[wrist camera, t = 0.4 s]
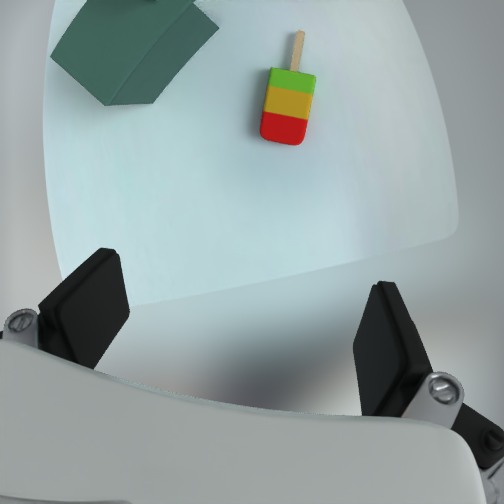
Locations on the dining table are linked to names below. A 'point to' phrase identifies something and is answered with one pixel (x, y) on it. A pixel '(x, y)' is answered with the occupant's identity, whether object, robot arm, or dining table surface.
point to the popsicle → (288, 101)
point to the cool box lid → (113, 41)
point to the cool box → (166, 58)
